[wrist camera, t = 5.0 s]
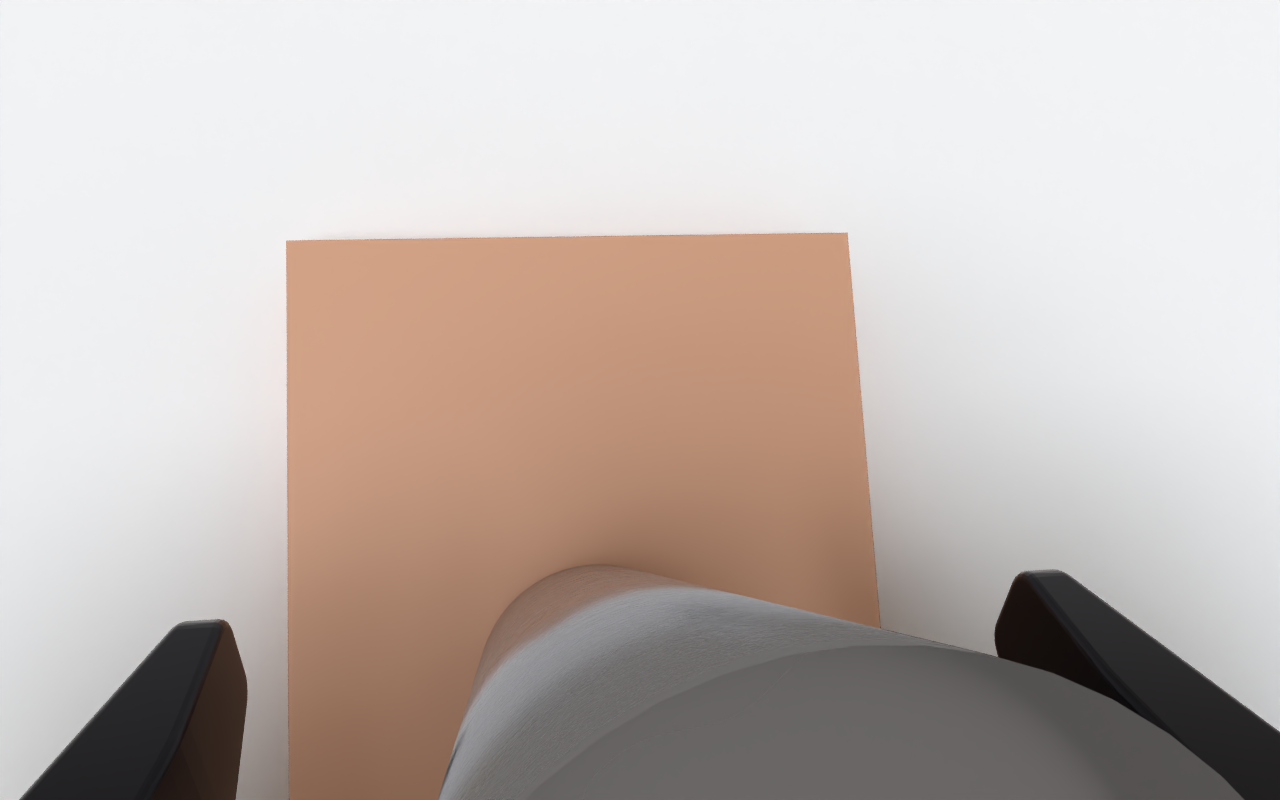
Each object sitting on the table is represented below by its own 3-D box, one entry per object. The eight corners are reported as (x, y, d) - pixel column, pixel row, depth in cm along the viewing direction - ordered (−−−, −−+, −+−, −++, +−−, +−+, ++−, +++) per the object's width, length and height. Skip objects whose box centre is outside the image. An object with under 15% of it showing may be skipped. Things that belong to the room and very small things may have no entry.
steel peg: (759, 717, 15) (1615, 1339, 3) (560, 860, 14) (753, 2259, 3) (632, 519, 15) (1021, 444, 4) (430, 650, 15) (81, 1102, 3)
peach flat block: (886, 1095, 16) (923, 1152, 15) (312, 1171, 15) (290, 1240, 13) (820, 258, 18) (847, 232, 16) (306, 267, 17) (286, 240, 15)
